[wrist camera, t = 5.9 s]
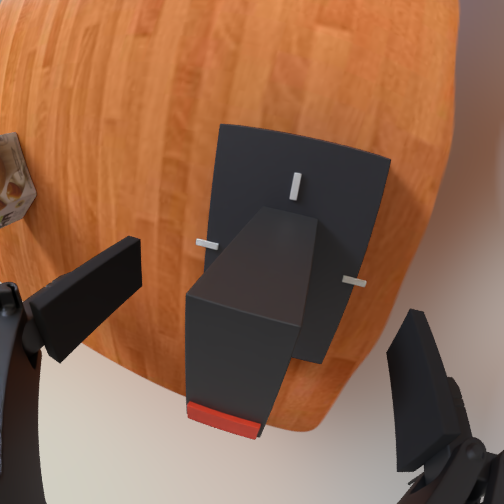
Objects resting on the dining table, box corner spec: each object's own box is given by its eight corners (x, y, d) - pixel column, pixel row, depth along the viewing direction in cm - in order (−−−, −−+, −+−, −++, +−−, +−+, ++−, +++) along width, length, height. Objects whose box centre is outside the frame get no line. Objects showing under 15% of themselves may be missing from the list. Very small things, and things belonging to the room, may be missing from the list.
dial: (262, 205, 15) (180, 298, 7) (318, 218, 14) (300, 333, 6) (247, 298, 18) (183, 419, 9) (293, 310, 17) (258, 443, 9)
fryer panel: (389, 158, 15) (403, 163, 12) (330, 339, 21) (329, 367, 18) (227, 123, 17) (208, 122, 14) (207, 306, 23) (191, 329, 20)
